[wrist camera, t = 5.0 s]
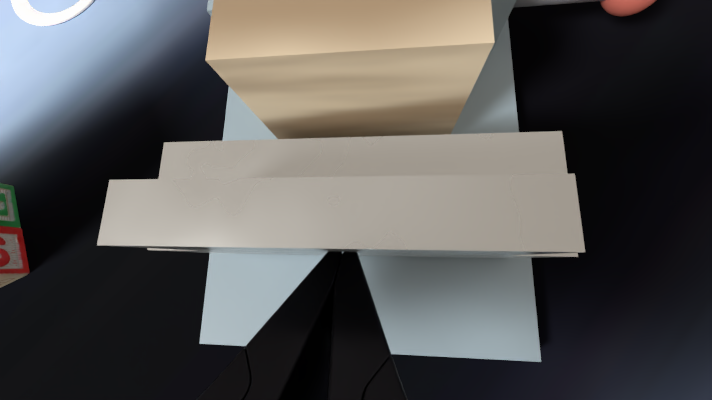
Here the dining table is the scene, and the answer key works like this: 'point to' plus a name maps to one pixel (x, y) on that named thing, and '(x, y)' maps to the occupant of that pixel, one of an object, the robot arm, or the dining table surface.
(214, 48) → the beech block
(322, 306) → the robot arm
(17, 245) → the stack of blocks
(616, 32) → the dining table surface
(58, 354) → the dining table surface
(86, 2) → the teacup and saucer
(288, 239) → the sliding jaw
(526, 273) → the pale blue base plate
